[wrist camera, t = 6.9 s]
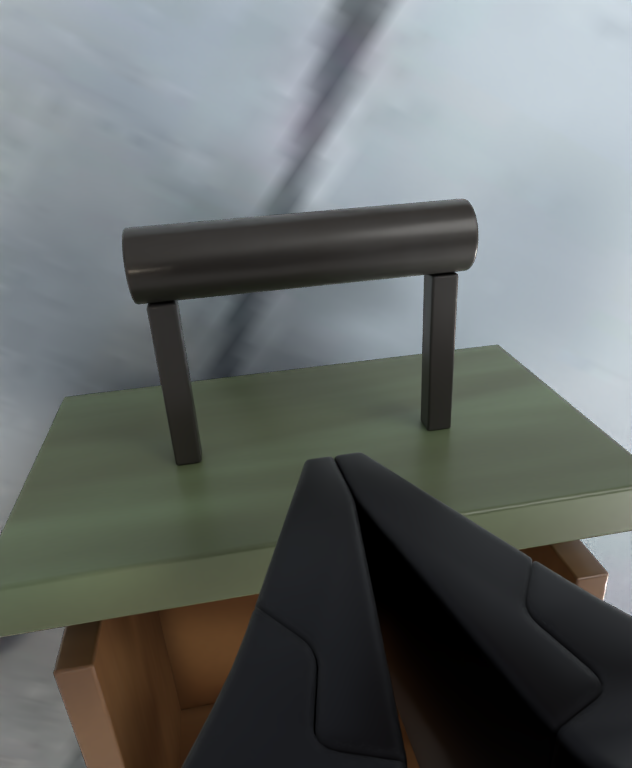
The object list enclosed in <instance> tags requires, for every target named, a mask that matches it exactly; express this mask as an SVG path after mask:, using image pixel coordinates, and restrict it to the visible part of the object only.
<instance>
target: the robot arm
mask: <svg viewBox="0 0 632 768" xmlns="http://www.w3.org/2000/svg"><path fill="white" fill-rule="evenodd" d="M396 706H397V708H396ZM397 709H398V712H399V714H400V717H401V719H402V722H403V725H404V727H405V730H406V733H407V735H408V738H409V741H410V743H411V746H412V749H413V751H414V754H415V756H416V759H417V762H418V764H419V767H420V768H632V616H630V615H629V614H627V613H625V612H623V611H621V610H619V609H617V608H616V607H614V606H612V605H610V604H608V603H606V602H604V601H603V600H601V599H599V598H597V597H596V596H594V595H592V594H590V593H589V592H587V591H585V590H584V589H582V588H580V587H579V586H577V585H575V584H574V583H572V582H570V581H568V580H567V579H565V578H563V577H562V576H560V575H558V574H557V573H555V572H554V571H552V570H550V569H549V568H547V567H546V566H544V565H542V564H541V563H539V562H537V561H534V562H533V563H532V559H531V557H529V556H527V555H526V554H524V553H523V552H521V551H519V550H518V549H516V548H515V547H513V546H511V545H510V544H508V543H507V542H505V541H503V540H502V539H500V538H499V537H497V536H495V535H494V534H492V533H491V532H489V531H487V530H486V529H484V528H483V527H481V526H479V525H478V524H476V523H474V522H473V521H471V520H470V519H468V518H466V517H465V516H463V515H462V514H460V513H458V512H457V511H455V510H454V509H452V508H450V507H449V506H447V505H446V504H444V503H442V502H441V501H439V500H438V499H436V498H434V497H433V496H431V495H429V494H428V493H426V492H425V491H423V490H421V489H420V488H418V487H417V486H415V485H413V484H412V483H410V482H409V481H407V480H405V479H404V478H402V477H401V476H399V475H397V474H396V473H394V472H393V471H391V470H389V469H388V468H386V467H385V466H383V465H381V464H380V463H378V462H376V461H375V460H373V459H372V458H370V457H368V456H367V455H365V454H363V453H361V452H356V453H350V454H343V455H338V456H336V457H335V459H333V458H332V457H329V456H328V457H321V458H314V459H308V460H307V461H306V462H305V463H304V466H303V469H302V472H301V475H300V478H299V481H298V483H297V486H296V489H295V492H294V495H293V498H292V501H291V504H290V507H289V509H288V512H287V515H286V518H285V521H284V524H283V527H282V530H281V533H280V535H279V538H278V541H277V544H276V547H275V550H274V553H273V556H272V559H271V561H270V564H269V567H268V570H267V573H266V576H265V579H264V582H263V585H262V587H261V590H260V593H259V596H258V599H257V602H256V605H255V610H254V611H253V612H252V615H251V618H250V621H249V624H248V627H247V630H246V633H245V635H244V638H243V640H242V643H241V645H240V648H239V650H238V653H237V656H236V658H235V661H234V663H233V666H232V668H231V670H230V672H229V674H228V677H227V679H226V681H225V683H224V685H223V687H222V689H221V691H220V693H219V695H218V697H217V699H216V701H215V704H214V706H213V708H212V710H211V712H210V713H209V715H208V717H207V719H206V721H205V723H204V725H203V727H202V729H201V731H200V733H199V735H198V736H197V738H196V740H195V742H194V744H193V746H192V748H191V750H190V752H189V754H188V756H187V758H186V759H185V761H184V763H183V765H182V767H181V768H408V767H407V758H406V753H405V748H404V743H403V738H402V733H401V728H400V723H399V718H398V713H397Z"/></svg>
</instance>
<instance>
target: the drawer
mask: <svg viewBox="0 0 632 768" xmlns="http://www.w3.org/2000/svg"><path fill="white" fill-rule="evenodd" d="M477 248H478V225H477V219H476V215H475V212H474V209H473V207H472V205H471V204H470V202H469V201H467V200H465V199H453V200H442V201H430V202H419V203H407V204H396V205H384V206H372V207H361V208H349V209H338V210H326V211H315V212H303V213H292V214H280V215H269V216H257V217H246V218H234V219H222V220H211V221H199V222H188V223H176V224H165V225H153V226H142V227H130V228H125V229H124V230H123V234H122V251H123V260H124V267H125V273H126V278H127V283H128V287H129V290H130V294H131V296H132V299H133V301H134V302H135V303H136V304H147V303H148V306H147V313H148V318H149V324H150V329H151V335H152V340H153V345H154V351H155V356H156V361H157V367H158V372H159V377H160V383H161V385H160V386H151V387H143V388H135V389H127V390H118V391H110V392H102V393H94V394H85V395H77V396H69V397H65V398H64V399H63V401H62V403H61V405H60V408H59V410H58V412H57V414H56V416H55V418H54V421H53V423H52V425H51V427H50V429H49V431H48V434H47V436H46V438H45V440H44V442H43V444H42V446H41V449H40V451H39V453H38V455H37V457H36V459H35V462H34V464H33V466H32V468H31V470H30V472H29V475H28V477H27V479H26V481H25V483H24V485H23V487H22V490H21V492H20V494H19V496H18V498H17V500H16V503H15V505H14V507H13V509H12V511H11V513H10V516H9V518H8V520H7V522H6V524H5V526H4V529H3V531H2V533H1V535H0V637H6V636H12V635H18V634H23V633H29V632H35V631H41V630H47V629H53V628H59V627H65V629H64V633H63V637H62V641H61V645H60V648H59V652H58V656H57V660H56V664H55V668H54V672H53V674H54V677H55V680H56V682H57V685H58V688H59V691H60V694H61V696H62V699H63V702H64V705H65V708H66V710H67V713H68V716H69V719H70V722H71V724H72V727H73V730H74V733H75V735H76V738H77V741H78V744H79V747H80V749H81V752H82V755H83V758H84V761H85V763H86V766H87V768H181V767H182V765H183V763H184V761H185V759H186V758H187V756H188V754H189V752H190V750H191V748H192V746H193V744H194V742H195V740H196V738H197V736H198V735H199V733H200V731H201V729H202V727H203V725H204V723H205V721H206V719H207V717H208V715H209V713H210V712H211V710H212V708H213V706H214V704H215V701H216V699H217V697H218V695H219V693H220V691H221V689H222V687H223V685H224V683H225V681H226V679H227V677H228V674H229V672H230V670H231V668H232V666H233V663H234V661H235V658H236V656H237V653H238V650H239V648H240V645H241V643H242V640H243V638H244V635H245V633H246V630H247V627H248V624H249V621H250V618H251V615H252V612H253V611H254V610H255V605H256V602H257V599H258V596H259V593H260V590H261V587H262V585H263V582H264V579H265V576H266V573H267V570H268V567H269V564H270V561H271V559H272V556H273V553H274V550H275V547H276V544H277V541H278V538H279V535H280V533H281V530H282V527H283V524H284V521H285V518H286V515H287V512H288V509H289V507H290V504H291V501H292V498H293V495H294V492H295V489H296V486H297V483H298V481H299V478H300V475H301V472H302V469H303V466H304V463H305V462H306V461H307V460H308V459H314V458H321V457H328V456H329V457H332V458H333V459H335V457H336V456H338V455H343V454H350V453H356V452H361V453H363V454H365V455H367V456H368V457H370V458H372V459H373V460H375V461H376V462H378V463H380V464H381V465H383V466H385V467H386V468H388V469H389V470H391V471H393V472H394V473H396V474H397V475H399V476H401V477H402V478H404V479H405V480H407V481H409V482H410V483H412V484H413V485H415V486H417V487H418V488H420V489H421V490H423V491H425V492H426V493H428V494H429V495H431V496H433V497H434V498H436V499H438V500H439V501H441V502H442V503H444V504H446V505H447V506H449V507H450V508H452V509H454V510H455V511H457V512H458V513H460V514H462V515H463V516H465V517H466V518H468V519H470V520H471V521H473V522H474V523H476V524H478V525H479V526H481V527H483V528H484V529H486V530H487V531H489V532H491V533H492V534H494V535H495V536H497V537H499V538H500V539H502V540H503V541H505V542H507V543H508V544H510V545H511V546H513V547H515V548H516V549H518V550H519V551H521V552H523V553H524V554H526V555H527V556H529V557H531V559H532V563H533V562H534V561H537V562H539V563H541V564H542V565H544V566H546V567H547V568H549V569H550V570H552V571H554V572H555V573H557V574H558V575H560V576H562V577H563V578H565V579H567V580H568V581H570V582H572V583H574V584H575V585H577V586H579V587H580V588H582V589H584V590H585V591H587V592H589V593H590V594H592V595H594V596H596V597H597V598H599V599H601V600H604V596H605V591H606V586H607V581H608V577H609V574H608V572H607V571H606V570H605V569H604V567H603V566H602V565H601V564H600V563H599V562H598V560H597V559H596V558H595V557H594V556H593V555H592V553H591V552H590V551H589V550H588V549H587V548H586V546H585V545H584V544H583V543H582V542H581V541H580V540H579V539H585V538H591V537H597V536H603V535H609V534H615V533H621V532H627V531H632V454H630V453H629V452H628V451H627V450H626V449H624V448H623V447H622V446H621V445H619V444H618V443H617V442H616V441H615V440H613V439H612V438H611V437H610V436H609V435H607V434H606V433H605V432H604V431H602V430H601V429H600V428H599V427H598V426H596V425H595V424H594V423H593V422H592V421H590V420H589V419H588V418H587V417H585V416H584V415H583V414H582V413H581V412H579V411H578V410H577V409H576V408H574V407H573V406H572V405H571V404H570V403H568V402H567V401H566V400H565V399H564V398H562V397H561V396H560V395H559V394H557V393H556V392H555V391H554V390H553V389H551V388H550V387H549V386H548V385H547V384H545V383H544V382H543V381H542V380H540V379H539V378H538V377H537V376H536V375H534V374H533V373H532V372H531V371H530V370H528V369H527V368H526V367H525V366H523V365H522V364H521V363H520V362H519V361H517V360H516V359H515V358H514V357H512V356H511V355H510V354H509V353H508V352H506V351H505V350H504V349H503V348H502V347H500V346H499V345H490V346H482V347H474V348H465V349H457V350H455V330H456V310H457V290H458V274H457V273H455V272H457V271H465V270H467V269H469V268H470V267H471V266H472V265H473V263H474V260H475V258H476V254H477ZM418 275H424V302H423V342H422V354H416V355H408V356H399V357H391V358H383V359H375V360H366V361H358V362H350V363H341V364H333V365H325V366H317V367H308V368H300V369H292V370H284V371H275V372H267V373H259V374H251V375H242V376H234V377H226V378H218V379H209V380H201V381H193V382H191V379H190V373H189V366H188V360H187V354H186V348H185V342H184V336H183V329H182V323H181V317H180V311H179V305H178V300H185V299H195V298H205V297H215V296H224V295H234V294H244V293H253V292H263V291H273V290H282V289H292V288H302V287H311V286H321V285H331V284H341V283H350V282H360V281H370V280H379V279H389V278H399V277H408V276H418ZM396 708H397V706H396ZM397 713H398V718H399V723H400V728H401V733H402V738H403V743H404V748H405V753H406V758H407V767H408V768H420V767H419V764H418V762H417V759H416V756H415V754H414V751H413V749H412V746H411V743H410V741H409V738H408V735H407V733H406V730H405V727H404V725H403V722H402V719H401V717H400V714H399V712H398V709H397Z"/></svg>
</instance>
